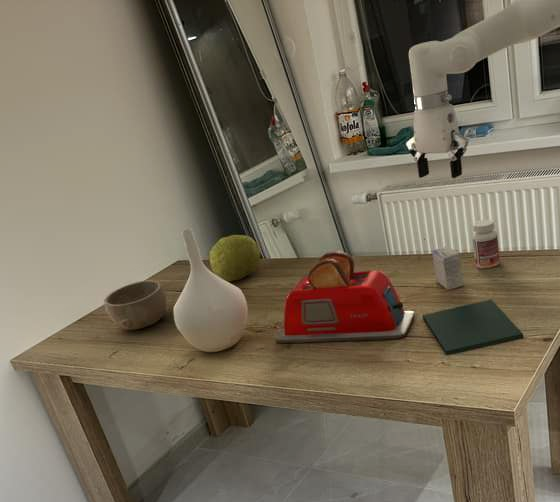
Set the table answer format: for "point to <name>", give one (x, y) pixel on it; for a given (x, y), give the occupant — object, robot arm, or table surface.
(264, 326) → the table surface
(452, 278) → the medicine box
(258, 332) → the table surface
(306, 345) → the table surface
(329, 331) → the toaster
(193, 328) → the vase
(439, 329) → the mat
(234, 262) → the fruit
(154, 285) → the bowl
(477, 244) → the pill bottle
